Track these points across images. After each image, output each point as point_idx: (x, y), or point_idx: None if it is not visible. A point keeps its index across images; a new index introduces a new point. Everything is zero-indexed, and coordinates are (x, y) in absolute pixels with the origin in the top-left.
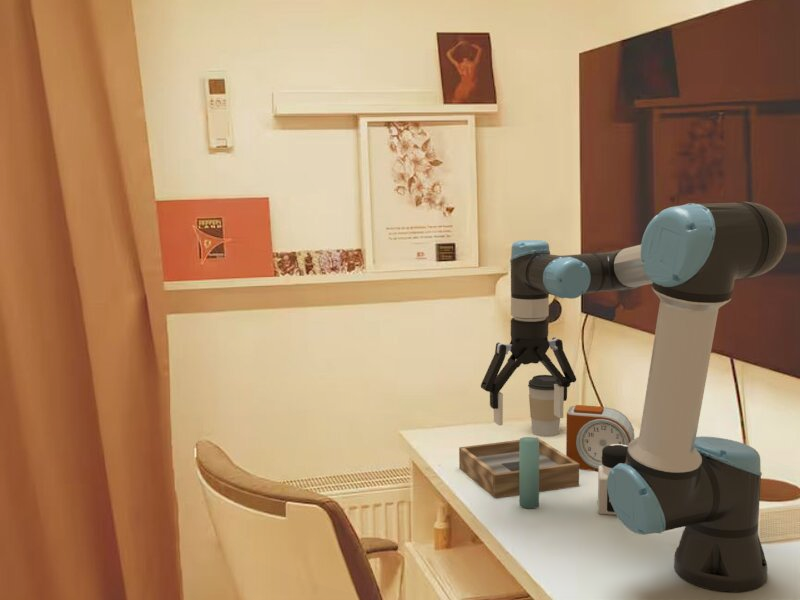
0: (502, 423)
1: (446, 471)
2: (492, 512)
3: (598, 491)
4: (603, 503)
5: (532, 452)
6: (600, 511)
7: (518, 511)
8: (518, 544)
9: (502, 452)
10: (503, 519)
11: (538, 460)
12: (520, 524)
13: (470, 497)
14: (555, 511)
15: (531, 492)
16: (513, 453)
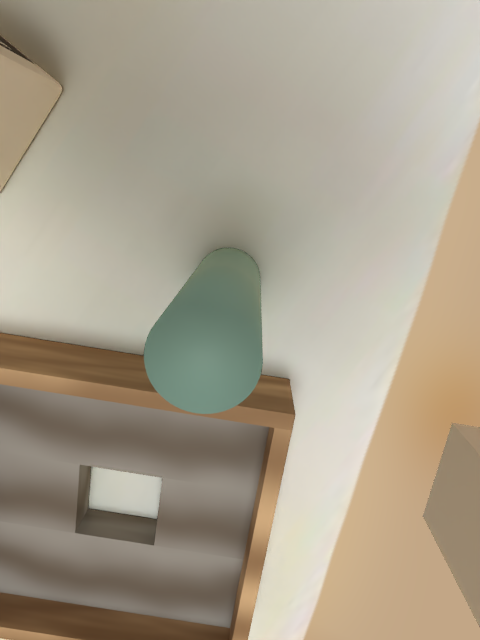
0: (461, 429)
1: (289, 608)
2: (366, 288)
3: (2, 136)
4: (33, 66)
5: (222, 291)
6: (56, 81)
7: (289, 253)
8: (467, 7)
9: (100, 611)
10: (372, 222)
11: (186, 286)
12: (351, 156)
13: (349, 420)
14: (183, 190)
15: (237, 258)
16: (68, 593)
